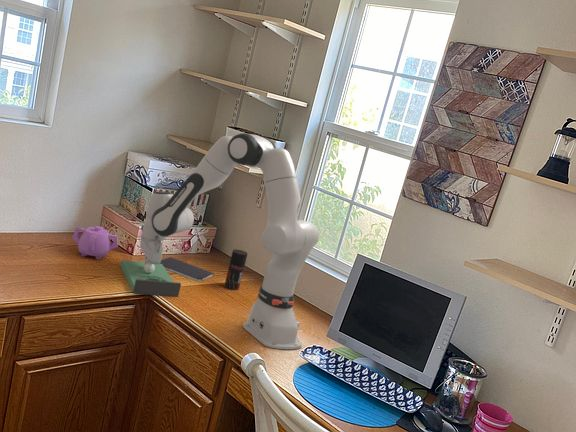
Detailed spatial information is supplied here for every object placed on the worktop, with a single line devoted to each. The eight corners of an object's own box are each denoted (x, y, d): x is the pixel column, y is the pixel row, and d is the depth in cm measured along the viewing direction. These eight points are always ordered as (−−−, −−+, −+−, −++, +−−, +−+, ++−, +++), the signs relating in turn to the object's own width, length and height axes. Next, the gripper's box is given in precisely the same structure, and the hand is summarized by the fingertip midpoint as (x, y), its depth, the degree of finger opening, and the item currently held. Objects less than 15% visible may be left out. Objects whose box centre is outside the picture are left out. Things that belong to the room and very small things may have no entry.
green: (178, 296, 214) (181, 283, 213) (133, 293, 206) (136, 280, 205) (160, 269, 237) (163, 257, 236) (120, 265, 230) (122, 253, 229)
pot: (75, 244, 242) (80, 216, 239) (118, 253, 244) (124, 226, 242) (64, 257, 224) (69, 227, 222) (110, 266, 227) (116, 237, 225)
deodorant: (236, 291, 235) (245, 255, 232) (222, 287, 236) (231, 251, 233) (240, 287, 240) (249, 252, 238) (226, 283, 241) (235, 248, 238)
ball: (153, 265, 226) (153, 275, 224) (142, 264, 224) (142, 274, 222) (156, 261, 223) (156, 271, 221) (145, 260, 221) (145, 270, 219)
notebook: (213, 276, 247) (169, 260, 253) (214, 273, 246) (170, 257, 253) (198, 283, 235) (153, 265, 241) (199, 279, 234) (153, 262, 241)
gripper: (169, 242, 216) (161, 277, 219) (156, 225, 234) (149, 259, 236) (152, 240, 213) (144, 276, 216) (140, 223, 231) (133, 257, 234)
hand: (147, 267), depth 226 cm, fingers closed
